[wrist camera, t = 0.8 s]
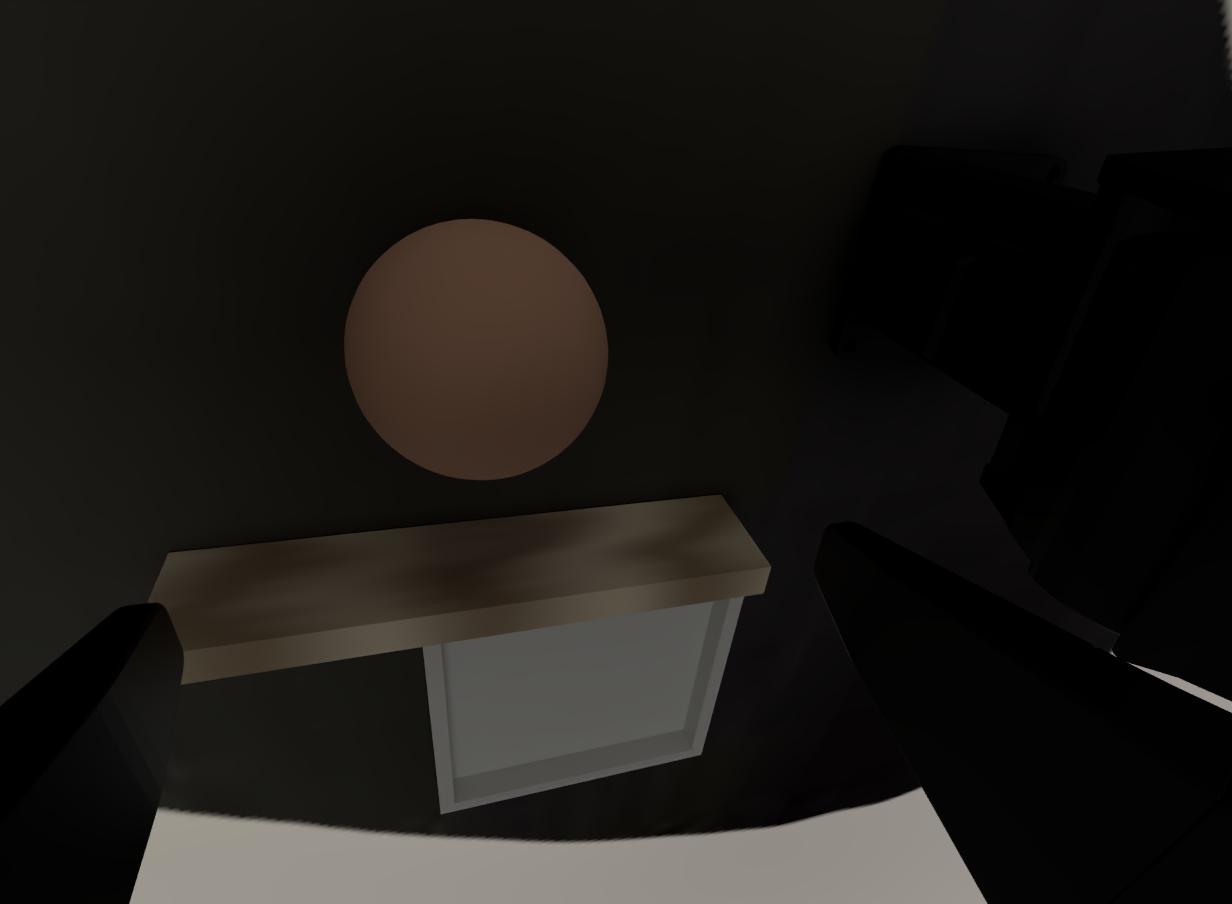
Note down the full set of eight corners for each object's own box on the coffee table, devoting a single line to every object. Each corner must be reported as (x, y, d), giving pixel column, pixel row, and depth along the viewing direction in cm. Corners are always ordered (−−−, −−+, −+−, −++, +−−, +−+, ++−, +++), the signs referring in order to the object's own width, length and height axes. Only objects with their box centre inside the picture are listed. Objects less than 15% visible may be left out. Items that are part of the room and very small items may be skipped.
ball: (582, 197, 17) (658, 266, 12) (570, 399, 20) (626, 518, 15) (335, 188, 15) (308, 265, 10) (366, 410, 18) (356, 548, 13)
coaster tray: (735, 541, 26) (751, 567, 24) (689, 727, 32) (700, 754, 31) (417, 583, 22) (419, 615, 21) (439, 781, 29) (440, 814, 28)
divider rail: (721, 494, 24) (771, 566, 21) (715, 519, 25) (763, 593, 21) (168, 552, 19) (122, 660, 16) (179, 582, 20) (137, 691, 16)
